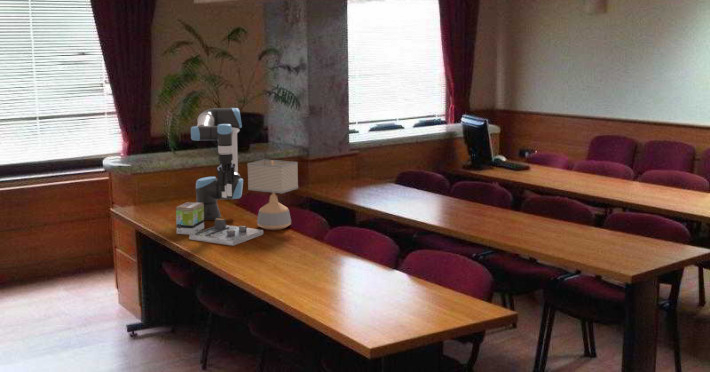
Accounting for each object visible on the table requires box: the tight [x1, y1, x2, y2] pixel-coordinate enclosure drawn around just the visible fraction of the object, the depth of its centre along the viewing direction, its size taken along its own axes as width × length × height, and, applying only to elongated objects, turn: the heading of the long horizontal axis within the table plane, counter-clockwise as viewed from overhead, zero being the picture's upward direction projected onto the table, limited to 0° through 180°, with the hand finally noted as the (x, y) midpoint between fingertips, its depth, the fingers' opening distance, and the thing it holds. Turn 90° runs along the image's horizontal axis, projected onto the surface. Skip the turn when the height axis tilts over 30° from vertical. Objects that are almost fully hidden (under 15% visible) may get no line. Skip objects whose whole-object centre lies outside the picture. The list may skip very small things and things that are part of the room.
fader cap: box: [214, 217, 227, 229], centre depth 420 cm, size 3×5×5 cm, turn 61°
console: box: [188, 224, 264, 247], centre depth 412 cm, size 26×29×5 cm
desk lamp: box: [247, 158, 299, 231], centre depth 429 cm, size 22×19×37 cm
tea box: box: [175, 201, 205, 235], centre depth 424 cm, size 15×10×15 cm
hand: (226, 196), depth 423 cm, fingers open, 4 cm apart
